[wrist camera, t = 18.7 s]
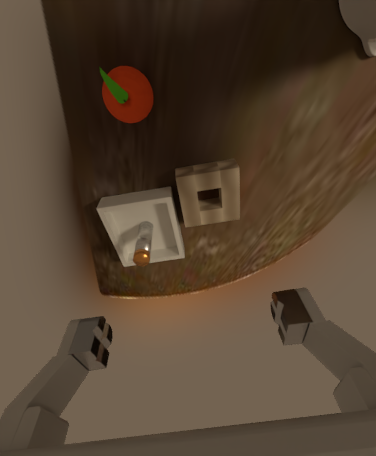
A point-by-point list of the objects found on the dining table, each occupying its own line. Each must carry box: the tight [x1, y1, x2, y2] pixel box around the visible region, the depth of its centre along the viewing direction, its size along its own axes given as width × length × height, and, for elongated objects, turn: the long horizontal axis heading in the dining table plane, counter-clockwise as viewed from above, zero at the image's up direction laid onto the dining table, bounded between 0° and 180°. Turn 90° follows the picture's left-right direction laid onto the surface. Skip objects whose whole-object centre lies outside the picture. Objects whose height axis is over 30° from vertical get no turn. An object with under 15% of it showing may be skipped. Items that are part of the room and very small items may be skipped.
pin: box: [133, 221, 153, 266], centre depth 45 cm, size 3×3×10 cm
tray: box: [96, 186, 185, 267], centre depth 48 cm, size 14×16×4 cm
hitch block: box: [175, 159, 240, 227], centre depth 44 cm, size 11×11×4 cm
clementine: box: [99, 66, 154, 123], centre depth 32 cm, size 8×7×7 cm
